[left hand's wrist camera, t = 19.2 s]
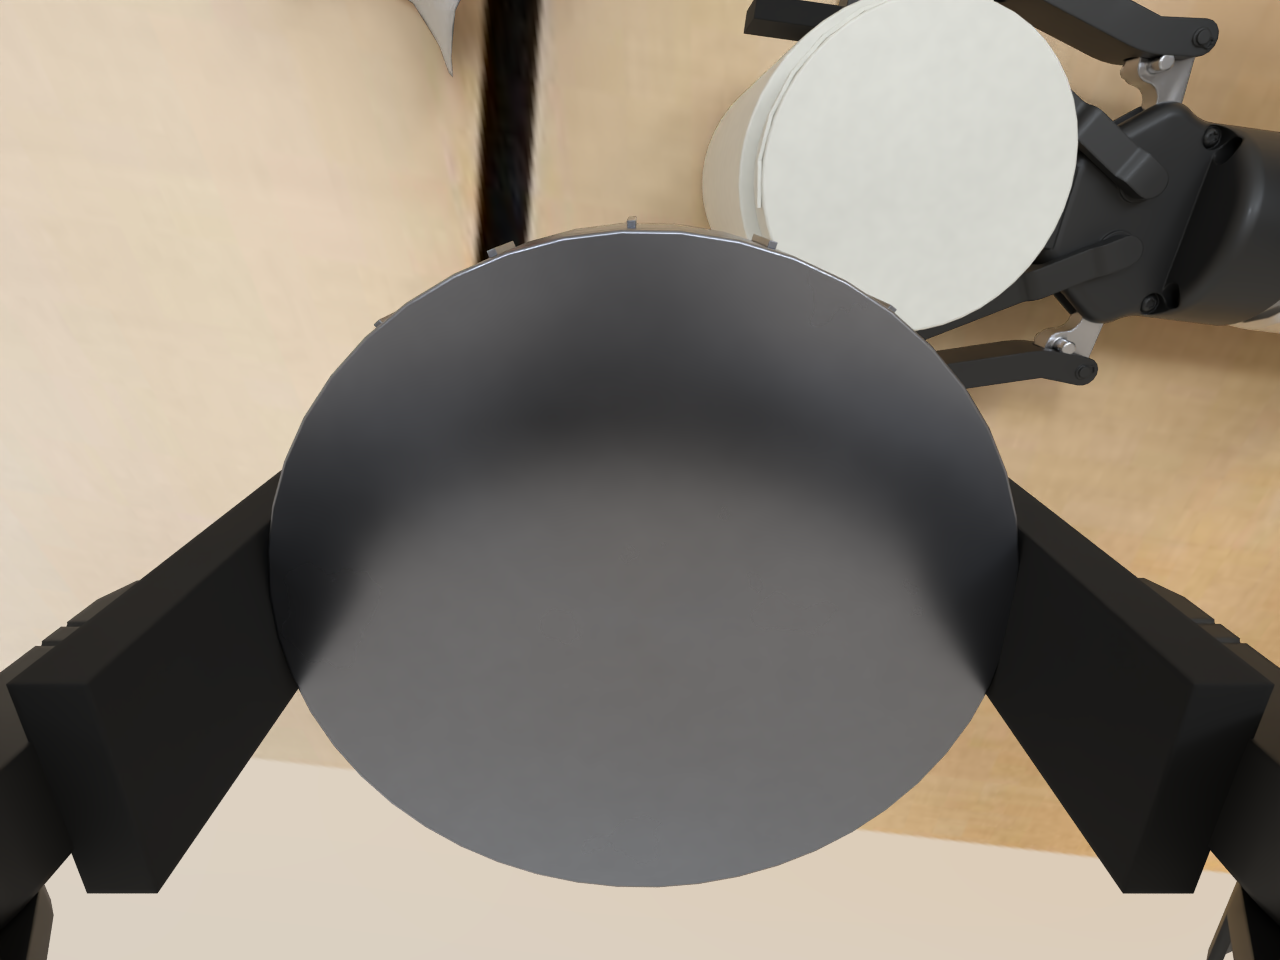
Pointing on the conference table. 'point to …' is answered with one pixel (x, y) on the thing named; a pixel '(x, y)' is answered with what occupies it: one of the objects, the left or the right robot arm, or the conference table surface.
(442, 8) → the fish
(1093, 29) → the right robot arm
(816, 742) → the lid
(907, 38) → the jar
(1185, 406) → the conference table surface
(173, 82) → the conference table surface
